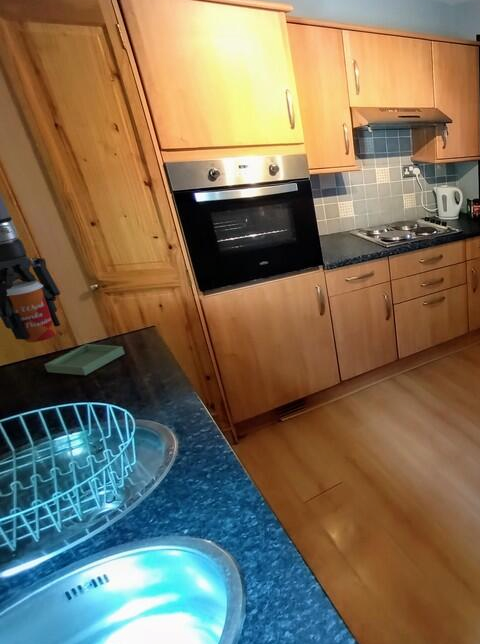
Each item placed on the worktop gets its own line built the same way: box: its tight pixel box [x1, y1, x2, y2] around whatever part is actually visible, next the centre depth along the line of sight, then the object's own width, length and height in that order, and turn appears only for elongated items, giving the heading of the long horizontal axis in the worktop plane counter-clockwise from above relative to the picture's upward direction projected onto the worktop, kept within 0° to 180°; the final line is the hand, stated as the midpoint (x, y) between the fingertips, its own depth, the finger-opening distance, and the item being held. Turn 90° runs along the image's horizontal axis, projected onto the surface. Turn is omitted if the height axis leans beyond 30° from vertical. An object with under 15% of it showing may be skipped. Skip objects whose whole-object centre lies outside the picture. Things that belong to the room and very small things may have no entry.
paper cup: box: [7, 280, 57, 343], centre depth 109 cm, size 8×8×14 cm
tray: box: [43, 343, 126, 376], centre depth 136 cm, size 13×13×3 cm
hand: (38, 331), depth 111 cm, fingers closed on paper cup, 6 cm apart
